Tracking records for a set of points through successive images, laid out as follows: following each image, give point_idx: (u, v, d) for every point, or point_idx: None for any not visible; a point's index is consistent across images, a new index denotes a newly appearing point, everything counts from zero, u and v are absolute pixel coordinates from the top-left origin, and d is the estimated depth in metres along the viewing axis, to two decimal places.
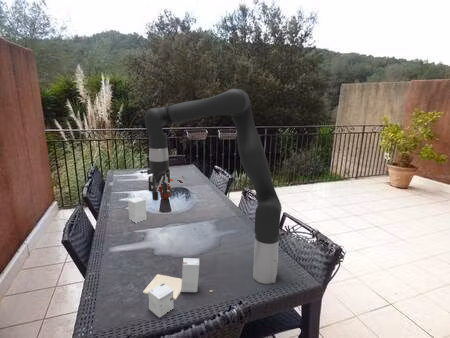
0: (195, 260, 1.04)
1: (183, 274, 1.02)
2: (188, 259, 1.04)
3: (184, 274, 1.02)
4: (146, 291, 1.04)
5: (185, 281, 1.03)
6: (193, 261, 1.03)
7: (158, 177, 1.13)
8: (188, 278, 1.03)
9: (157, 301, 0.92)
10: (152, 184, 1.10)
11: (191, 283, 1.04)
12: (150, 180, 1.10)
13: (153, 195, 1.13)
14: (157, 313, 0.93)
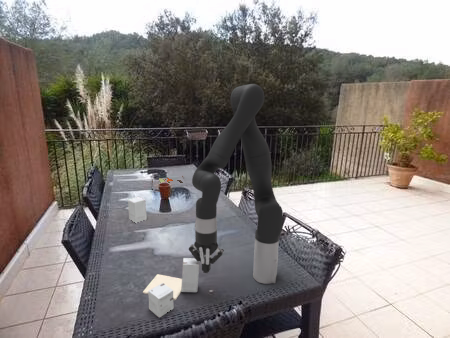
0: (195, 260, 1.04)
1: (183, 274, 1.02)
2: (188, 259, 1.04)
3: (185, 274, 1.02)
4: (146, 291, 1.04)
5: (185, 281, 1.03)
6: (193, 261, 1.03)
7: None
8: (188, 278, 1.03)
9: (157, 301, 0.92)
10: None
11: (191, 283, 1.04)
12: None
13: (209, 267, 1.02)
14: (157, 313, 0.93)
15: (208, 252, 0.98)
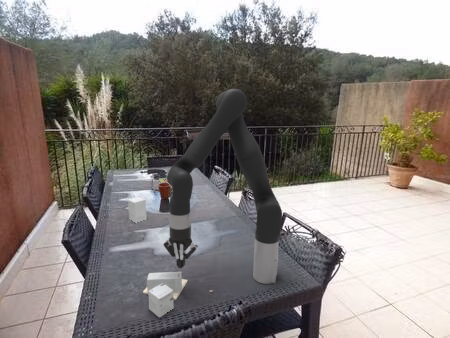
0: None
1: None
2: None
3: None
4: (146, 291, 1.04)
5: None
6: None
7: None
8: None
9: (157, 301, 0.92)
10: None
11: (169, 284, 1.03)
12: (194, 251, 1.01)
13: (184, 262, 1.04)
14: (157, 313, 0.93)
15: (182, 248, 1.01)
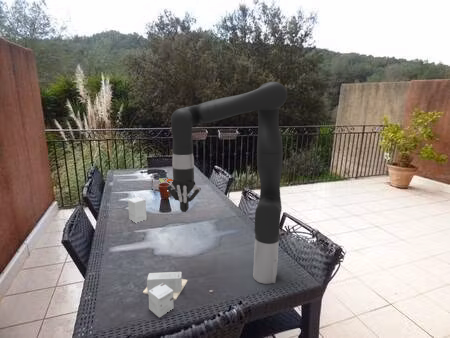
0: None
1: None
2: None
3: None
4: (146, 291, 1.04)
5: None
6: None
7: None
8: None
9: (157, 301, 0.92)
10: None
11: (169, 284, 1.03)
12: (197, 193, 1.02)
13: (187, 205, 1.05)
14: (157, 313, 0.93)
15: (185, 189, 1.02)
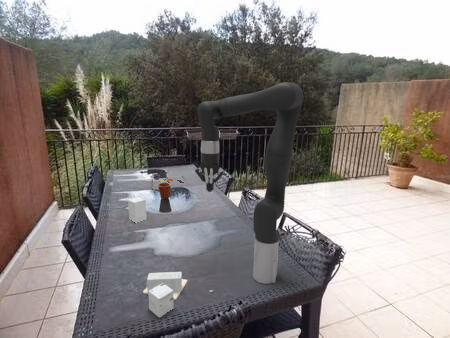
0: None
1: None
2: None
3: None
4: (146, 291, 1.04)
5: None
6: None
7: None
8: None
9: (157, 301, 0.92)
10: (220, 177, 1.19)
11: (169, 284, 1.03)
12: None
13: (213, 186, 1.20)
14: (157, 313, 0.93)
15: (212, 172, 1.17)
